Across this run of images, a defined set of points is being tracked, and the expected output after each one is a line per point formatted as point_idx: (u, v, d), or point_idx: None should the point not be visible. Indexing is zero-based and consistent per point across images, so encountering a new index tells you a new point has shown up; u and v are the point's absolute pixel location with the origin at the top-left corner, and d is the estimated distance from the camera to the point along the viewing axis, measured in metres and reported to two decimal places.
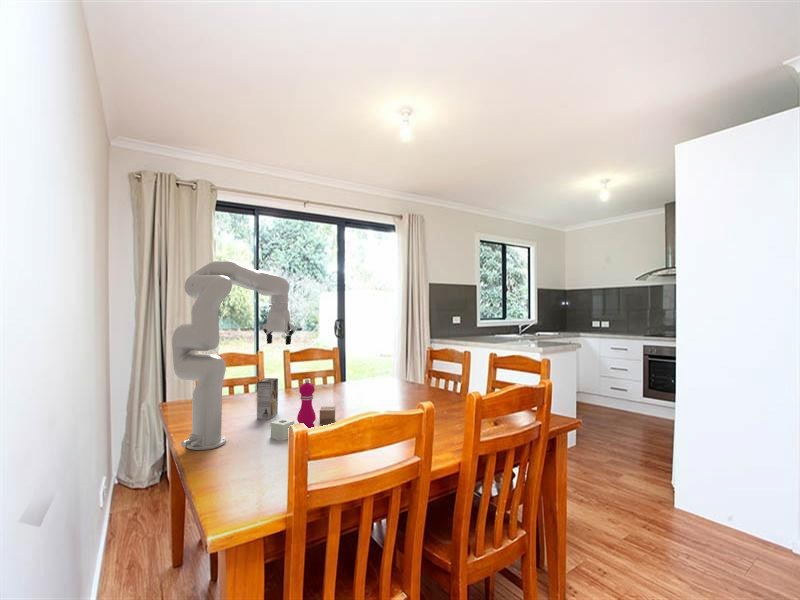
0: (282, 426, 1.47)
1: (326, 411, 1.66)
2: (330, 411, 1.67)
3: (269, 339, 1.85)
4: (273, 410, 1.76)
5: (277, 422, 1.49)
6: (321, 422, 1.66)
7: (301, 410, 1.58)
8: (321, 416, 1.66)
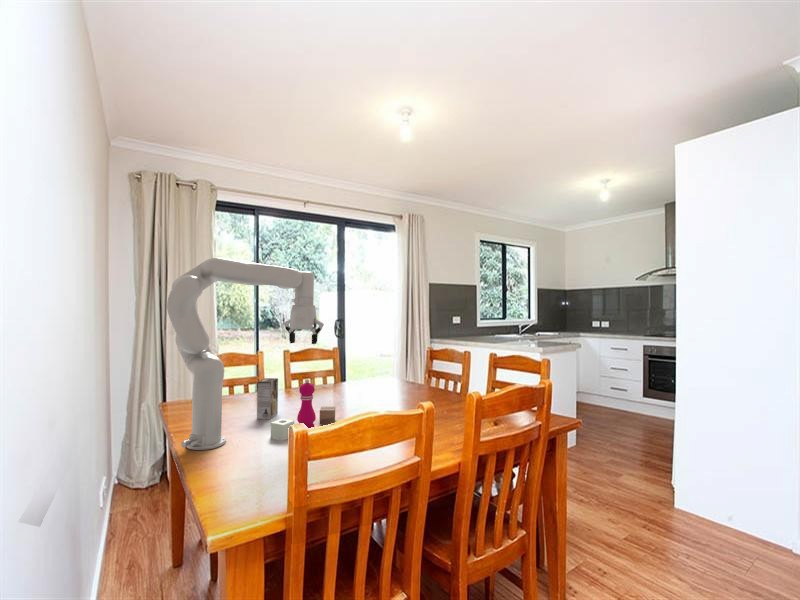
0: (282, 426, 1.47)
1: (326, 411, 1.66)
2: (330, 411, 1.67)
3: (292, 338, 1.64)
4: (273, 410, 1.76)
5: (277, 422, 1.49)
6: (321, 422, 1.66)
7: (301, 410, 1.58)
8: (321, 416, 1.66)
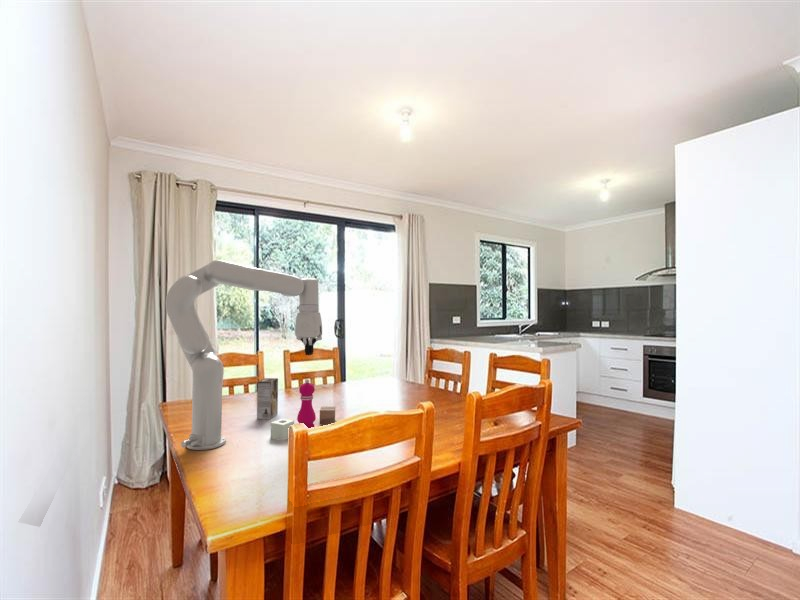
0: (282, 426, 1.47)
1: (326, 411, 1.66)
2: (330, 411, 1.67)
3: None
4: (273, 410, 1.76)
5: (277, 422, 1.49)
6: (321, 422, 1.66)
7: (301, 410, 1.58)
8: (321, 416, 1.66)
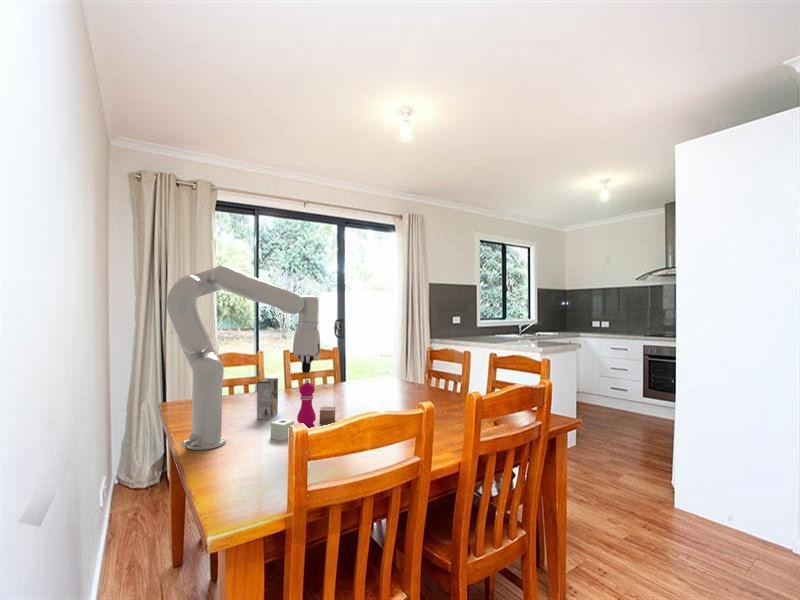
0: (282, 426, 1.47)
1: (326, 411, 1.66)
2: (330, 411, 1.67)
3: None
4: (273, 410, 1.76)
5: (277, 422, 1.49)
6: (321, 422, 1.66)
7: (301, 410, 1.58)
8: (321, 416, 1.66)
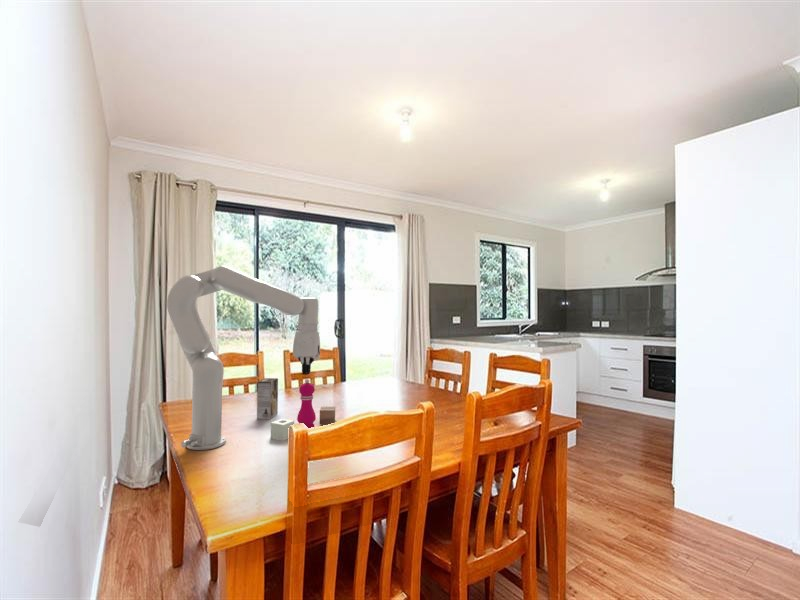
0: (282, 426, 1.47)
1: (326, 411, 1.66)
2: (330, 411, 1.67)
3: None
4: (273, 410, 1.76)
5: (277, 422, 1.49)
6: (321, 422, 1.66)
7: (301, 410, 1.58)
8: (321, 416, 1.66)
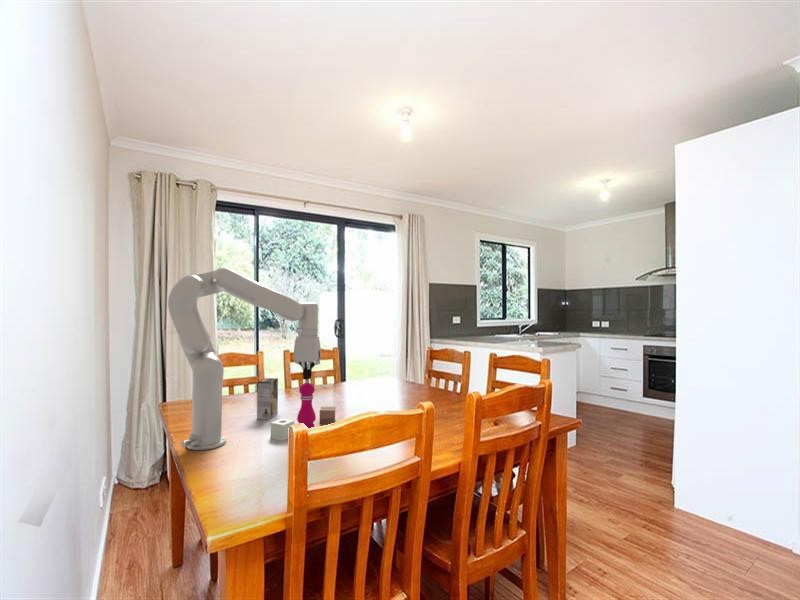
0: (282, 426, 1.47)
1: (326, 411, 1.66)
2: (330, 411, 1.67)
3: None
4: (273, 410, 1.76)
5: (277, 422, 1.49)
6: (321, 422, 1.66)
7: (301, 410, 1.58)
8: (321, 416, 1.66)
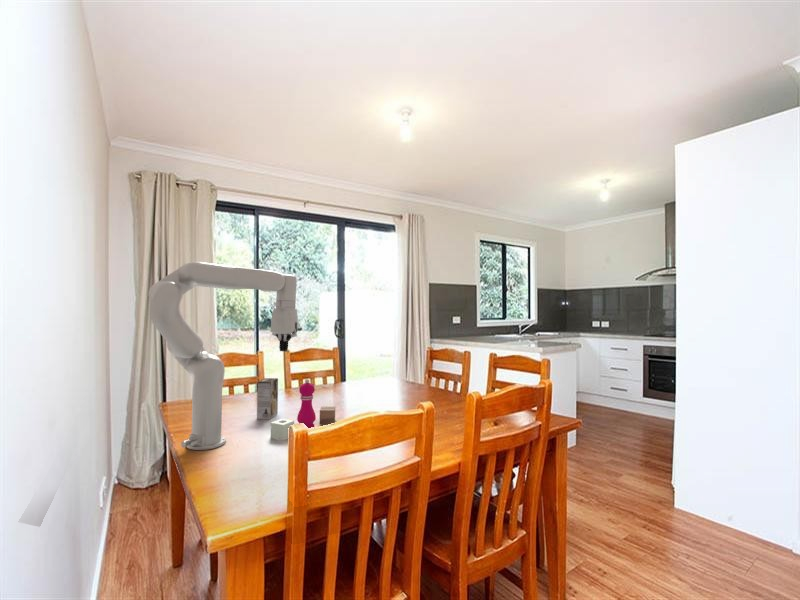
0: (282, 426, 1.47)
1: (326, 411, 1.66)
2: (330, 411, 1.67)
3: None
4: (273, 410, 1.76)
5: (277, 422, 1.49)
6: (321, 422, 1.66)
7: (301, 410, 1.58)
8: (321, 416, 1.66)
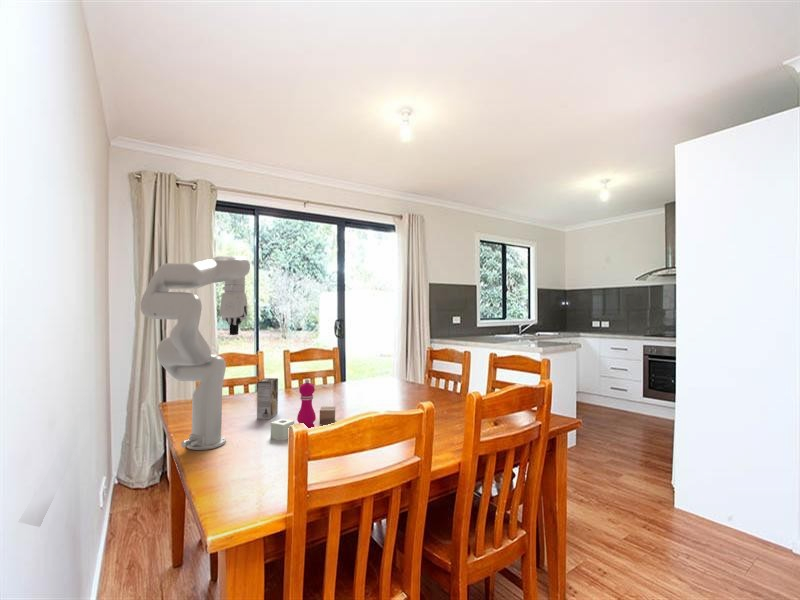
0: (282, 426, 1.47)
1: (326, 411, 1.66)
2: (330, 411, 1.67)
3: None
4: (273, 410, 1.76)
5: (277, 422, 1.49)
6: (321, 422, 1.66)
7: (301, 410, 1.58)
8: (321, 416, 1.66)
